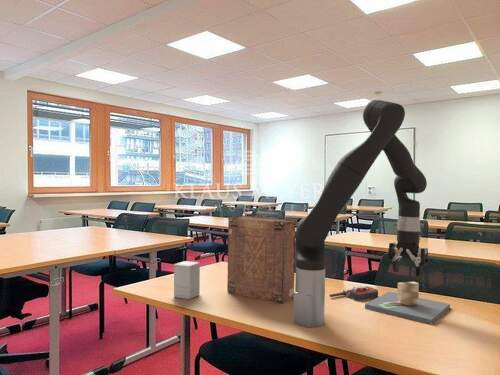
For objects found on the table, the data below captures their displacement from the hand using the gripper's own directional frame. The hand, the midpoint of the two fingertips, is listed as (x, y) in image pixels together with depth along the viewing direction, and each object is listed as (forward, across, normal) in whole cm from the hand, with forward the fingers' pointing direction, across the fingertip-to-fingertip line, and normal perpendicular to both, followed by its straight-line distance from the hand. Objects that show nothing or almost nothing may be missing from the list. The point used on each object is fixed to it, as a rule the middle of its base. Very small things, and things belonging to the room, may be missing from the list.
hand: (406, 274), depth 133 cm
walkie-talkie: (+13, +18, +6) cm, 23 cm away
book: (+13, +40, +36) cm, 55 cm away
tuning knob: (+10, 0, +3) cm, 10 cm away
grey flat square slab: (+12, -1, 0) cm, 12 cm away
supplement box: (+13, +53, +61) cm, 82 cm away
